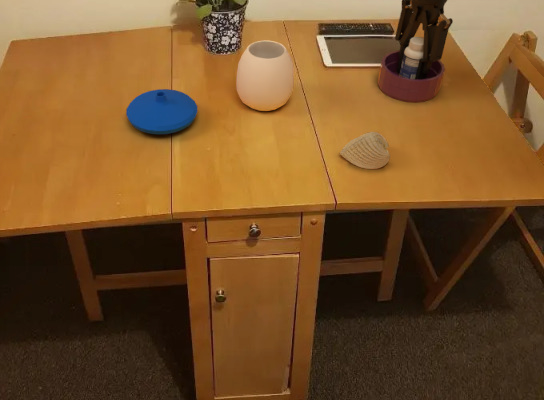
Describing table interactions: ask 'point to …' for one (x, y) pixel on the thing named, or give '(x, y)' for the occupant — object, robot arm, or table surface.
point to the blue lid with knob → (161, 111)
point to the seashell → (367, 151)
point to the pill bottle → (412, 58)
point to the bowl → (408, 81)
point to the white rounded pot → (265, 75)
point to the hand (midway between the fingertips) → (410, 77)
